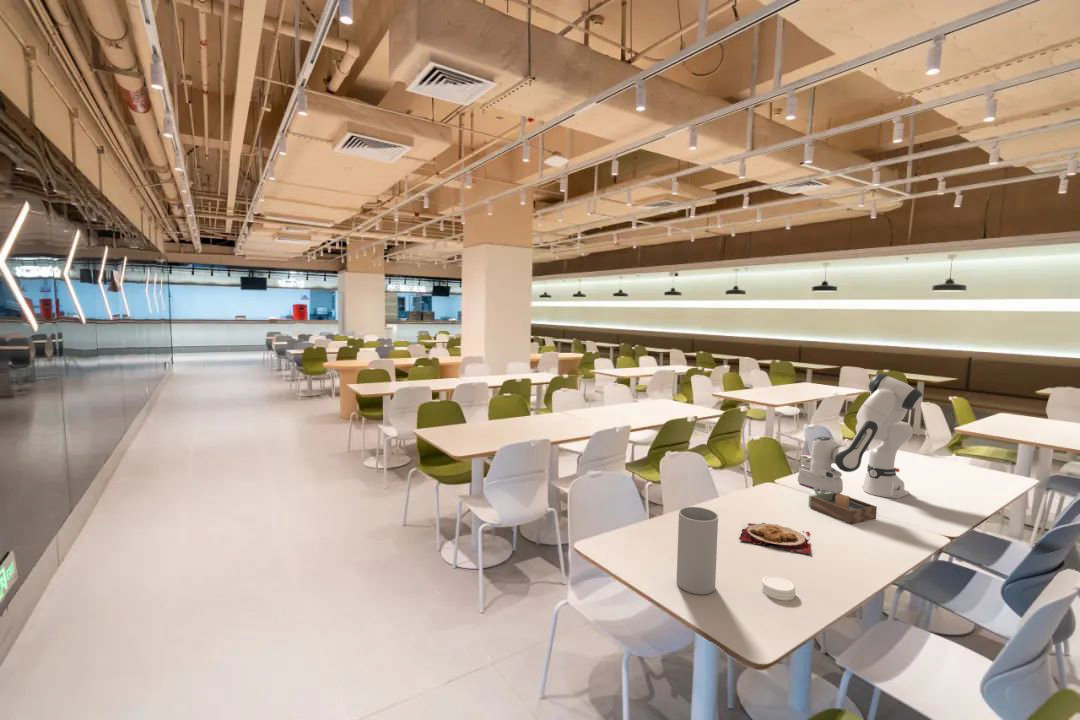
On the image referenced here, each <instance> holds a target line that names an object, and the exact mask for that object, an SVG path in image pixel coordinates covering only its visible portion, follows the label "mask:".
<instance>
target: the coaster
mask: <svg viewBox="0 0 1080 720" xmlns="http://www.w3.org/2000/svg"><path fill="white" fill-rule="evenodd" d="M761 591H762V592H763V593H764V594H765V596H768V597H769V598H771V599H773V600H777V601H791V600H793V599H795V597H796V586H795V584H794V583H793V582H792V581H790V580H789V579H786V578H784V577H781V576H776V575H767V576H765V577H763V578H762V579H761Z"/></svg>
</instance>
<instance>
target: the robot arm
mask: <svg viewBox="0 0 1080 720" xmlns="http://www.w3.org/2000/svg"><path fill="white" fill-rule="evenodd" d="M868 389H869V391H870V395H869V396H868V397H867V398H866V400H865V401H864V402H863V404H862V405H861V406H860V408H859V409H858V411H857V414H856V422H857V423H856V426H855V432H856V434H855V436H854V437H853V439H852V441H851V443H850V444H849V445H848V446H847V445H844V444H841V443H839V442H837V441H836V440H833V438H831V437H828V436H817V437H816V438H814V440H813V442H812V445H811V453H810V456H812V460H811V465H810V467H808V466H805V465H802V466H800V465H799V468H798V475H797V482H798V484H799V483H801V484H804V485H808V486H811V487H814V488H812V489H813V492H814V494H821V493H825V491H826V492H832V493H835V494H842V492H843V491H844V490H843V488H844V487H843V485H844V484H843V483H844V482H843V480H842V478H841V477H842V476H843V474H842V472H840V471H843V472H845V473H852V472H855V471H856V470H858V469H859V468H860V467H861V465H862V459H863V456H864V453H865V452H866V450H867V449H868V447H869V446H870V444H871V442H872V441H879V442H880V441H881V443H880V444H879V445H877V446H874V447H873V448H871V449H870V450H869V453H868V454H869V455H868V456H869V457H868V464H867V467H866V468H867V470H866V471H867V472H866V473H865V476H864V480H863V484H862V485H861V488H862V489H863V491H864V492H865V493H868V494H869V495H872V496H873V495H874V496H878V497H884V498H892V499H901V498H903V497H905V496H908V495H909V494H911V493H910V491H909V490H907V489H905V482H904V481H903V480H902V479H901V478H900V477H899V476H898V475H897V473H899V472H900V468H898V467H895V461H896V455H897V453H898V450H899V449H900V448H901V446H902V445H903V444H905V443H907V442H909V441H910V440H911V438H912V437H913V435H914V431H913V427H912V426H911V424H910V423H909V422H906V421H903V419H904V418H905V417H906V415H907V413H908V410H910V411H911V410H914V409H916V408H918V407H919V405H921V403H922V401H923V398H924V396H923V395H924V394H923V393H922V392H921V391H920V390H919V389H918V388H915V387H913V386H911V385H910V384H908V383H906V382H904V381H901V380H899V379H896V378H894V377H891V376H889V375H887V374H884V373H878V374H875V376H873V377H872V378H871V379H870V381H869V384H868ZM832 464H835V465H836V466H837V468H838V469H839V470H840V471H839V470H837V469H836V468H835V467H832ZM801 484H800V485H801ZM804 485H803V486H804ZM817 489H819V490H817Z"/></svg>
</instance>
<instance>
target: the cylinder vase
mask: <svg viewBox="0 0 1080 720" xmlns="http://www.w3.org/2000/svg"><path fill="white" fill-rule="evenodd" d="M677 523H678V527H677V528H678V529H677V551H676V553H677V558H676V584H677V585H678V587H679V588H680V589H681V590H683V591H685V592H687V593H690V594H694V595H699V596H700V595H703V596H704V595H710V594H711V593H713V592H714V591H715V589H716V582H717V581H716V580H717V579H716V578H717V577H716V576H717V556H718V555H717V553H718V552H717V549H718V527H719V526H718V525H719V514H717V513H716V512H715V511H713V510H711V509H708V508H704V507H699V506H686V507H683V508H680V509H679V510H678V522H677Z"/></svg>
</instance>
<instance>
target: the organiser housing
mask: <svg viewBox="0 0 1080 720" xmlns="http://www.w3.org/2000/svg"><path fill="white" fill-rule="evenodd" d="M836 495H837V494H835V496H836ZM849 501H852V502H854V503H857V504H860V505H863V506H865V507H864V508H859V509H854V510H849V509H846V508H843V507H841V506H838V505H836V504H833V503H830V502H828V501H825V500H822V499H820V498H817V497H814V496H812V498H811V508H810V509H811V510H814V511H816V512H819V513H821V514H823V515H826V516H829V517H831V518H833V519H836V520H837V521H838V520H839V521H841V522H843V523H845V524H847V525H848V524H849V525H853V524H854V525H855V524H859V523H865V522H870V521H875V520H877V509H878V506H876V505H874V504H870V503H867V502H866V501H863V500H860V499H856V498H853V497H851V496H849Z"/></svg>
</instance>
